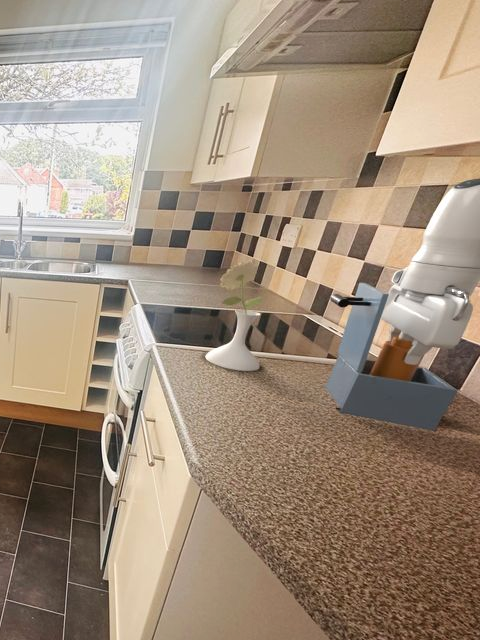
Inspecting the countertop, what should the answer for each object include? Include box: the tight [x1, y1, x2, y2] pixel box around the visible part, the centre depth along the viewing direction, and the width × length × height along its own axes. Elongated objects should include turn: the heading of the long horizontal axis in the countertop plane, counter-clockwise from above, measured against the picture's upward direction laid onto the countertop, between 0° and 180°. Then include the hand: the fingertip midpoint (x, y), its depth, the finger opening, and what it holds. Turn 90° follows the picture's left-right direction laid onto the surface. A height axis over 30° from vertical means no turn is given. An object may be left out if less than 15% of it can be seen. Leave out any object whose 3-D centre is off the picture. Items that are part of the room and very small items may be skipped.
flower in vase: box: [205, 260, 264, 372], centre depth 96 cm, size 13×11×25 cm
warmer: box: [324, 354, 458, 432], centre depth 80 cm, size 14×12×9 cm
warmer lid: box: [329, 282, 389, 372], centre depth 79 cm, size 14×12×5 cm
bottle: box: [369, 331, 426, 381], centre depth 78 cm, size 6×6×18 cm
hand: (400, 356), depth 77 cm, fingers open, 6 cm apart
